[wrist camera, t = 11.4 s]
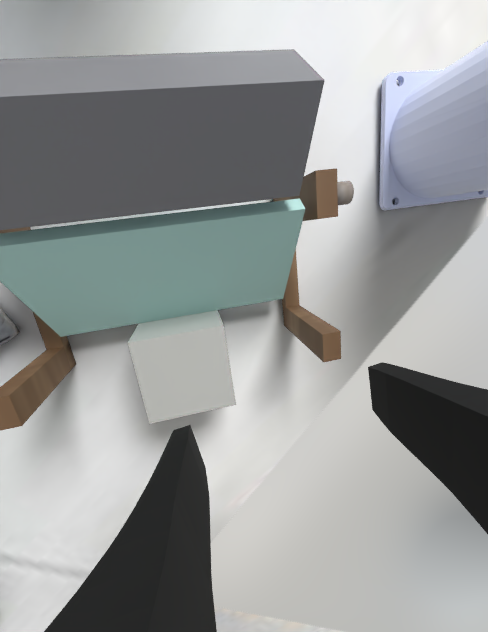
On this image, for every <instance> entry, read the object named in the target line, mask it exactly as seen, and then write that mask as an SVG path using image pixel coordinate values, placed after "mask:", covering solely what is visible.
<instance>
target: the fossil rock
mask: <svg viewBox="0 0 488 632" xmlns="http://www.w3.org/2000/svg"><path fill="white" fill-rule="evenodd" d="M18 333H19V331H18V329H17V327H16V326H15V324H14V323H13V322H12V321H11V320H10V318H9V317H8V316H7V315H6V314H5V313H4V312H3V310H2V309H1V308H0V345H1V344H4V343H6V342H8V341H10V340H11V339H12V338H14V337H15V336H16V335H18Z"/></svg>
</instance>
